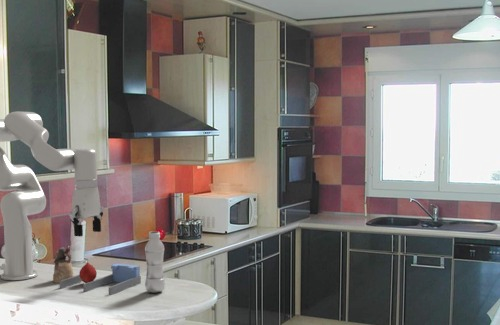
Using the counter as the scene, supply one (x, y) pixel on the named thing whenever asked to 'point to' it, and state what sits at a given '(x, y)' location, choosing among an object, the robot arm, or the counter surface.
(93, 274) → the pomegranate
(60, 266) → the painted ceramic spouted vessel
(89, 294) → the counter surface
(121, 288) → the grey parallel strips
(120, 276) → the blue bracket
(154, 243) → the plastic bottle
